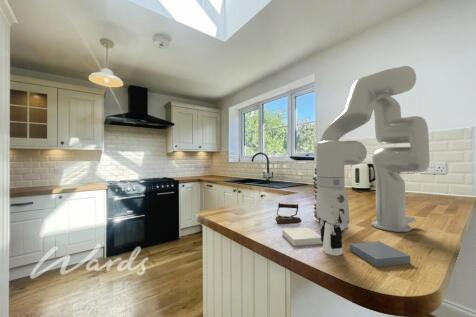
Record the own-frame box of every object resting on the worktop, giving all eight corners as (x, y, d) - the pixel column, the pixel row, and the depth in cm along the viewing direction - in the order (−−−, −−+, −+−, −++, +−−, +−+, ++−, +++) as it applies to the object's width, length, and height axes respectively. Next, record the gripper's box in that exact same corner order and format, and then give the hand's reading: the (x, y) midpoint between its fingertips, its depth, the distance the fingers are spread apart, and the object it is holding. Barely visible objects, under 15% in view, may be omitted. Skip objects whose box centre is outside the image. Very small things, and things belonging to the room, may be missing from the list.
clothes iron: (273, 220, 97) (278, 198, 98) (297, 226, 96) (302, 204, 97) (275, 223, 90) (280, 200, 91) (302, 229, 89) (306, 206, 90)
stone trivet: (308, 233, 78) (308, 227, 78) (323, 243, 69) (323, 237, 69) (282, 234, 77) (282, 229, 77) (293, 246, 67) (293, 239, 67)
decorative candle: (318, 223, 90) (317, 164, 90) (310, 217, 99) (309, 164, 99) (339, 223, 90) (338, 164, 90) (329, 217, 99) (329, 163, 99)
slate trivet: (378, 247, 65) (378, 241, 65) (410, 263, 55) (410, 255, 55) (349, 250, 63) (349, 243, 63) (376, 267, 54) (376, 259, 54)
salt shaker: (332, 246, 66) (332, 211, 66) (346, 254, 61) (346, 215, 61) (318, 249, 64) (318, 213, 64) (331, 257, 59) (331, 217, 59)
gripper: (362, 185, 55) (363, 256, 55) (325, 179, 71) (326, 233, 71) (336, 186, 54) (337, 258, 54) (305, 180, 70) (305, 235, 70)
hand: (331, 243), depth 62 cm, fingers closed on salt shaker, 4 cm apart
